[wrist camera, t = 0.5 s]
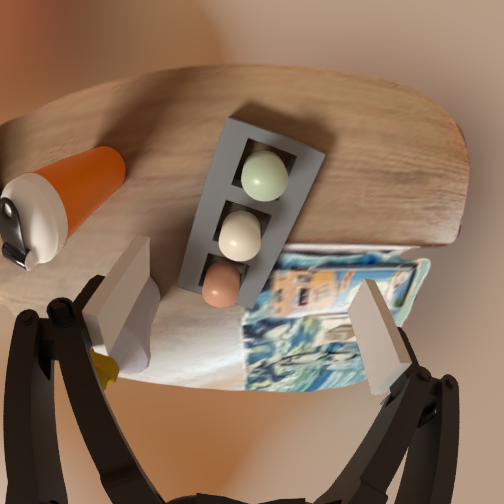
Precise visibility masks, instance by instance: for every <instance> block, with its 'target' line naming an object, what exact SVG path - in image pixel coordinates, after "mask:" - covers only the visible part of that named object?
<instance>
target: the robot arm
mask: <svg viewBox="0 0 504 504" xmlns="http://www.w3.org/2000/svg"><path fill="white" fill-rule="evenodd" d="M1 195H2V192H1V189H0V198H1ZM149 276H150V237H147V236H142V235H137V236H136V238H135V239H134V240H133V241H132V243H131V244H130V245H129V246H128V248H127V249H126V250H125V252H124V253H123V254H122V256H121V257H120V258H119V259H118V261H117V262H116V263H115V265H114V266H113V267H112V269H111V270H110V271H109V273H108V274H107V276H106V277H105V276H101V275H96V276H95V277H93V278H92V279H90V280H89V281H88V283H87V284H86V285H85V288H83V289H82V291H81V293H79V295H78V296H77V298H76V299H75V300H74V302H73V303H72V301H71V300H70V299H68V298H64V297H62V298H56V299H54V300H52V301H51V302H50V303H49V305H48V306H47V314H48V316H49V318H39V316H38V314H37V312H36V311H34V310H31V309H28V310H24V311H22V312H20V314H19V315H18V316H17V318H16V321H15V325H14V330H13V335H12V340H11V345H10V351H9V358H8V365H7V372H6V382H5V393H4V415H3V418H4V419H3V420H4V422H3V426H4V427H3V430H4V451H5V462H6V471H7V479H8V486H7V493H6V502H5V504H68V499H67V493H66V487H65V483H64V478H63V473H62V468H61V462H60V456H59V450H58V441H57V433H56V421H55V404H54V360H59V364H60V368H61V372H62V376H63V379H64V383H65V387H66V390H67V394H68V397H69V400H70V403H71V406H72V409H73V412H74V415H75V418H76V421H77V423H78V426H79V428H80V431H81V433H82V436H83V438H84V441H85V443H86V446H87V448H88V450H89V453H90V455H91V457H92V459H93V461H94V463H95V465H96V468H97V470H98V471H99V474H100V480H101V483H102V485H103V487H104V489H105V491H106V493H107V495H108V496H109V498H110V500H111V502H112V503H113V504H248V503H244V502H241V501H237V500H233V499H230V498H227V497H224V496H215V495H208V494H201V493H197V494H196V495H191V496H183V497H180V498H176V499H173V500H171V501H169V502H167V503H165V501H164V500H163V498H162V497H161V496H160V494H159V493H158V491H157V490H156V488H155V487H154V485H153V484H152V483H151V481H150V480H149V478H148V477H147V475H146V474H145V472H144V471H143V469H142V467H141V466H140V464H139V462H138V460H137V459H136V457H135V455H134V454H133V452H132V450H131V448H130V446H129V444H128V442H127V441H126V439H125V437H124V435H123V433H122V431H121V429H120V427H119V425H118V423H117V421H116V418H115V416H114V414H113V412H112V410H111V408H110V405H109V403H108V401H107V398H106V396H105V394H104V391H103V389H102V386H101V383H100V381H99V378H98V376H97V373H96V370H95V367H94V365H93V362H92V359H91V356H90V353H89V350H90V348H91V346H93V349H94V351H95V352H97V353H100V354H102V355H105V356H109V354H110V352H111V350H112V347H113V345H114V343H115V341H116V339H117V337H118V335H119V333H120V331H121V329H122V327H123V325H124V323H125V321H126V319H127V317H128V315H129V313H130V311H131V309H132V307H133V305H134V303H135V301H136V300H137V298H138V296H139V294H140V292H141V290H142V288H143V286H144V285H145V283H146V281H147V279H148V277H149ZM348 314H349V317H350V320H351V323H352V326H353V330H354V333H355V336H356V339H357V343H358V346H359V350H360V353H361V356H362V360H363V364H364V367H365V371H366V374H367V378H368V382H369V386H370V390H371V394H384V393H385V392H386V391H387V390H388V388H390V391H391V393H390V394H389V395H388V396H387V397H386V398H385V399H384V400H383V401H382V402H381V403H380V404H381V405H382V404H383V403H384V404H383V406H382V408H381V410H380V412H379V414H378V416H377V417H376V419H375V421H374V423H373V425H372V426H371V428H370V430H369V431H368V433H367V435H366V436H365V438H364V439H363V441H362V443H361V444H360V446H359V447H358V449H357V450H356V452H355V454H354V455H353V457H352V458H351V459H350V461H349V462H348V464H347V465H346V467H345V468H344V470H343V471H342V472H341V474H340V475H339V476H338V478H337V479H336V480H335V482H334V483H333V484H332V486H331V487H330V488H329V490H327V491H326V492H325V493H324V494H323V495H321V496H320V497H319V498H318V499H317V500H316V501H315V502H314V503H313V504H386V502H387V500H388V496H387V495H386V490H387V488H388V486H389V485H390V483H391V481H392V479H393V477H394V475H395V473H396V471H397V469H398V468H399V466H400V464H401V461H402V459H403V457H404V455H405V453H406V451H407V448H408V446H409V448H408V453H407V458H406V462H405V466H404V471H403V475H402V479H401V482H400V486H399V490H398V493H397V497H396V500H395V503H394V504H451V499H452V494H453V488H454V482H455V475H456V467H457V457H458V445H459V386H458V382H457V381H456V379H455V378H454V377H453V376H451V375H449V374H446V375H444V376H443V377H442V378H441V379H436V378H433V377H432V376H431V374H430V372H429V371H428V370H427V369H426V368H424V367H422V366H419V364H418V361H417V359H416V356H415V354H414V351H413V349H412V347H411V345H410V342H408V341H409V340H408V338H407V336H406V334H405V332H404V331H403V330H402V329H401V328H400V327H397V326H396V324H395V322H394V320H393V317H392V315H391V313H390V311H389V309H388V307H387V305H386V303H385V301H384V299H383V296H382V294H381V292H380V290H379V288H378V286H377V284H376V282H375V281H374V280H371V279H365V278H364V280H363V282H362V284H361V286H360V288H359V290H358V292H357V294H356V296H355V298H354V300H353V301H352V303H351V305H350V307H349V309H348ZM435 410H436V413H435ZM259 504H312V503H309V502H305V498H298V499H278V500H274V501H270V502H265V503H259Z"/></svg>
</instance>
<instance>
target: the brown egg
mask: <svg viewBox="0 0 504 504" xmlns="http://www.w3.org/2000/svg"><path fill="white" fill-rule="evenodd" d="M239 284H240V273H239V271H238V269H237V268H236V267H235V266H234V265H232V264H230V263H227V262H217V263H214V264H212V265H211V266H210V267H209V268H208V269H207V272H206V276H205V280H204V284H203V288H202V296H203V298H204V300H205V301H206V302H207V303H208V304H210V305H212V306H214V307H219V308H225V307H229V306H232V305H233V304H234V303H236V301H237V300H238V296H239Z"/></svg>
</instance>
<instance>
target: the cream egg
mask: <svg viewBox="0 0 504 504" xmlns="http://www.w3.org/2000/svg"><path fill="white" fill-rule="evenodd" d="M260 246H261V235H260V223H259V221H258V219H257V218H256V217H255V216H254V215H253V214H252V213H250V212H247V211H235V212H232V213H230V214H229V215H228V216H227V217H226V218H225V219H224V221H223V225H222V229H221V233H220V237H219V248H220V250H221V252H222V253H223V254H224V255H225V256H226V257H227V258H229V259H231V260H234V261H246V260H249V259H251V258H253V257H254V256H255V255H256V254H257V253H258V252H259V250H260Z"/></svg>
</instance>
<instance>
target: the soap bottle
mask: <svg viewBox="0 0 504 504" xmlns="http://www.w3.org/2000/svg"><path fill="white" fill-rule="evenodd" d="M159 303H160V292H159V288H158V286H157V284H156V283H155V282H154V280H153V279H152V278H151V277H150V276H149V277H148V279H147V281H146V283H145V285H144V286H143V288H142V290H141V292H140V294H139V296H138V298H137V300H136V301H135V303H134V305H133V307H132V309H131V311H130V313H129V315H128V317H127V319H126V321H125V323H124V325H123V327H122V329H121V331H120V333H119V335H118V337H117V339H116V341H115V343H114V345H113V347H112V350H111V352H110V354H109V356H105V355H102V354H100V353H97V352H95V351H94V349H93V346H91V348H90V350H89V353H90V356H91V359H92V362H93V365H94V367H95V370H96V373H97V376H98V378H99V381H100V383H101V386H102V389H103V391H104V390H105V389H106V386H107V385H112V384H113V383H115V382H116V379H117V376H118V373H119V372H120V373H125V374H132V373H140V372H141V371H143V370H144V369H146V368H147V367H148V366H149V362H150V358H151V354H150V332H151V325H152V323H153V320H154V317H155V315H156V312H157V309H158V307H159Z"/></svg>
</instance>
